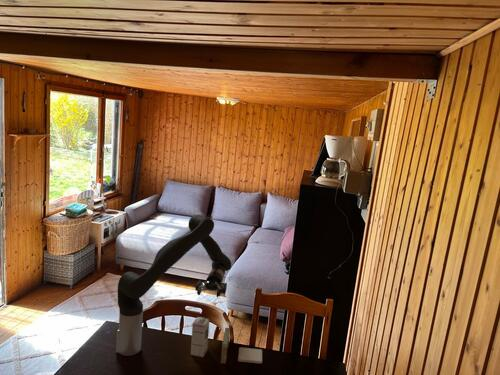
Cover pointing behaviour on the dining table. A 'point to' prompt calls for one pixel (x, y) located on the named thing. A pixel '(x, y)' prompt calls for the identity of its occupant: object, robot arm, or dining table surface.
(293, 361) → the dining table surface
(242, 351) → the grey mat
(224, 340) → the wooden bar
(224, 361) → the birch posts
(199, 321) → the syrup box
